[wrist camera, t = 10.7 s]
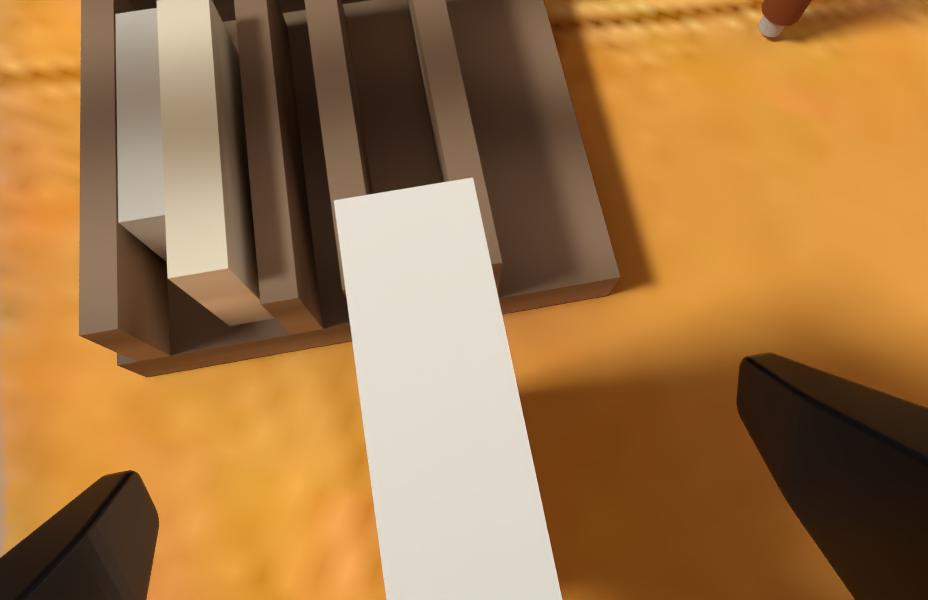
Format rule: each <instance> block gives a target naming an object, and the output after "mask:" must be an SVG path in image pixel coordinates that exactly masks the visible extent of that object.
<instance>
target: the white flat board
mask: <svg viewBox="0 0 928 600" xmlns="http://www.w3.org/2000/svg"><path fill="white" fill-rule="evenodd" d="M334 207H335V214H336V222H337V229H338V237H339V244H340V252H341V260H342V267H343V275H344V282H345V290H346V297H347V305H348V312H349V320H350V327H351V335H352V343H353V350H354V358H355V365H356V373H357V380H358V388H359V395H360V403H361V410H362V418H363V426H364V433H365V441H366V448H367V456H368V463H369V471H370V478H371V486H372V493H373V501H374V509H375V516H376V524H377V531H378V539H379V546H380V554H381V561H382V569H383V576H384V584H385V592H386V599H387V600H562V596H561V591H560V586H559V582H558V577H557V572H556V567H555V563H554V558H553V553H552V549H551V544H550V539H549V534H548V530H547V525H546V520H545V516H544V511H543V506H542V501H541V497H540V492H539V487H538V482H537V478H536V473H535V468H534V464H533V459H532V454H531V449H530V445H529V440H528V435H527V430H526V426H525V421H524V416H523V412H522V407H521V402H520V397H519V393H518V388H517V383H516V378H515V374H514V369H513V364H512V360H511V355H510V350H509V345H508V341H507V336H506V331H505V327H504V322H503V317H502V312H501V308H500V303H499V298H498V293H497V289H496V284H495V279H494V275H493V270H492V265H491V260H490V256H489V251H488V246H487V241H486V237H485V232H484V227H483V223H482V218H481V213H480V208H479V204H478V199H477V194H476V189H475V185H474V180H473V178H467V179H461V180H455V181H449V182H442V183H436V184H430V185H424V186H418V187H412V188H406V189H400V190H394V191H388V192H382V193H376V194H370V195H364V196H358V197H351V198H345V199H339V200H334Z"/></svg>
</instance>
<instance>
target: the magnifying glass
mask: <svg viewBox="0 0 928 600" xmlns="http://www.w3.org/2000/svg"><path fill="white" fill-rule="evenodd" d="M811 1H812V0H764V2H763V4H762V12H763V15H764V16H763V18H762V19H761V21H760V23H759V25H758V28H759V31H760V32H761V33H762V34H763V35H764V36H765V37H776V36H778V35H780V33H781V32H782V30H783V29H784V27H785V26H789V25H792V24H794V23H796V22H797V21H798V20H799V18H800V17H801V15H802V14H803V12H804V11H805V9H806V8H807V7H808V5H809V4H810V2H811Z"/></svg>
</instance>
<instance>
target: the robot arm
mask: <svg viewBox="0 0 928 600" xmlns="http://www.w3.org/2000/svg"><path fill="white" fill-rule="evenodd" d="M737 409H738V413H739V415H740V418H741V420H742V421H743V423H744V425H745V427H746V429H747V431H748V432H749V434H750V436H751V438H752V440H753V441H754V443H755V445H756V447H757V449H758V451H759V452H760V454H761V456H762V458H763V460H764V461H765V463H766V465H767V467H768V469H769V471H770V472H771V474H772V476H773V478H774V480H775V482H776V483H777V485H778V487H779V489H780V490H781V492H782V494H783V496H784V497H785V499H786V501H787V502H788V504H789V505H790V507H791V508H792V510H793V511H794V513H795V514H796V516H797V517H798V519H799V520H800V521H801V523H802V524H803V526H804V527H805V529H806V530H807V531H808V533H809V534H810V536H811V537H812V539H813V540H814V541H815V543H816V544H817V546H818V547H819V549H820V550H821V551H822V553H823V554H824V556H825V557H826V559H827V560H828V561H829V563H830V564H831V566H832V567H833V569H834V570H835V571H836V573H837V574H838V576H839V577H840V579H841V580H842V582H843V583H844V584H845V586H846V587H847V589H848V590H849V592H850V593H851V594H852V596H853V597H854V599H855V600H928V408H926V407H923V406H920V405H917V404H914V403H912V402H909V401H906V400H903V399H900V398H897V397H895V396H892V395H889V394H886V393H883V392H880V391H878V390H875V389H872V388H869V387H866V386H863V385H861V384H858V383H855V382H852V381H849V380H847V379H844V378H841V377H838V376H835V375H832V374H830V373H827V372H824V371H821V370H818V369H816V368H813V367H810V366H807V365H804V364H801V363H799V362H796V361H793V360H790V359H787V358H784V357H782V356H779V355H776V354H773V353H762V354H757V355H751V356H746V357H745V358H743V359H742V360H741V362H740V366H739V376H738V388H737ZM158 529H159V518H158V513H157V510H156V508H155V506H154V504H153V502H152V499H151V497H150V495H149V493H148V491H147V489H146V487H145V485H144V483H143V481H142V479H141V477H140V475H139V474H138V473H137V472H135V471H132V470H129V471H124V472H118V473H113V474H108V475H105V476H103V477H101V478H100V479H99V480H97V481H96V482H95V483H94V484H92V485H91V486H90V487H88V488H87V489H86V490H85V491H83V492H82V493H81V494H80V495H78V496H77V497H76V498H75V499H73V500H72V501H71V502H70V503H68V504H67V505H66V506H65V507H63V508H62V509H61V510H60V511H58V512H57V513H56V514H55V515H53V516H52V517H51V518H50V519H48V520H47V521H46V522H45V523H43V524H42V525H41V526H40V527H38V528H37V529H36V530H35V531H33V532H32V533H31V534H30V535H28V536H27V537H26V538H25V539H23V540H22V541H21V542H20V543H18V544H17V545H16V546H15V547H13V548H12V549H11V550H10V551H8V552H7V553H6V554H5V555H3V556H2V557H1V558H0V600H146V599H147V593H148V587H149V581H150V576H151V570H152V564H153V558H154V553H155V547H156V541H157V535H158Z"/></svg>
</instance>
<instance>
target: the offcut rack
mask: <svg viewBox="0 0 928 600" xmlns="http://www.w3.org/2000/svg"><path fill="white" fill-rule="evenodd" d="M467 178H473V180H474V185H475V189H476V194H477V199H478V204H479V208H480V213H481V218H482V223H483V227H484V232H485V237H486V241H487V246H488V251H489V256H490V260H491V265H492V270H493V275H494V279H495V284H496V289H497V293H498V298H499V303H500V308H501V312H502V314H506V313H512V312H518V311H523V310H529V309H535V308H540V307H546V306H552V305H557V304H563V303H569V302H574V301H580V300H586V299H591V298H597V297H603V296H608V295H609V293H610V292H611V290H612V289H613V287H614V286H615V284H616V283H617V281H618V280H619V278H620V274H619V270H618V267H617V263H616V259H615V256H614V252H613V249H612V245H611V241H610V238H609V234H608V231H607V227H606V223H605V220H604V216H603V213H602V209H601V205H600V202H599V198H598V195H597V191H596V187H595V184H594V180H593V177H592V173H591V169H590V166H589V162H588V159H587V155H586V151H585V148H584V144H583V141H582V137H581V133H580V130H579V126H578V123H577V119H576V115H575V112H574V108H573V105H572V101H571V97H570V94H569V90H568V87H567V83H566V79H565V76H564V72H563V69H562V65H561V62H560V58H559V54H558V51H557V47H556V44H555V40H554V36H553V33H552V29H551V26H550V22H549V18H548V15H547V11H546V8H545V4H544V0H81V112H80V264H79V336H81V337H83V338H86V339H88V340H90V341H92V342H95V343H97V344H99V345H101V346H104V347H106V348H108V349H110V350H113V351H115V352H117V365H118V366H120V367H123V368H125V369H128V370H130V371H133V372H135V373H137V374H140V375H142V376H145V377H150V376H156V375H161V374H167V373H173V372H178V371H184V370H190V369H195V368H201V367H207V366H212V365H218V364H224V363H229V362H235V361H241V360H246V359H252V358H258V357H263V356H269V355H274V354H280V353H286V352H291V351H297V350H303V349H308V348H314V347H320V346H325V345H331V344H337V343H342V342H348V341H352V335H351V327H350V320H349V312H348V305H347V297H346V290H345V282H344V275H343V267H342V260H341V252H340V244H339V237H338V229H337V222H336V214H335V207H334V200H339V199H345V198H351V197H358V196H364V195H370V194H376V193H382V192H388V191H394V190H400V189H406V188H412V187H418V186H424V185H430V184H436V183H442V182H449V181H455V180H461V179H467Z"/></svg>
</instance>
